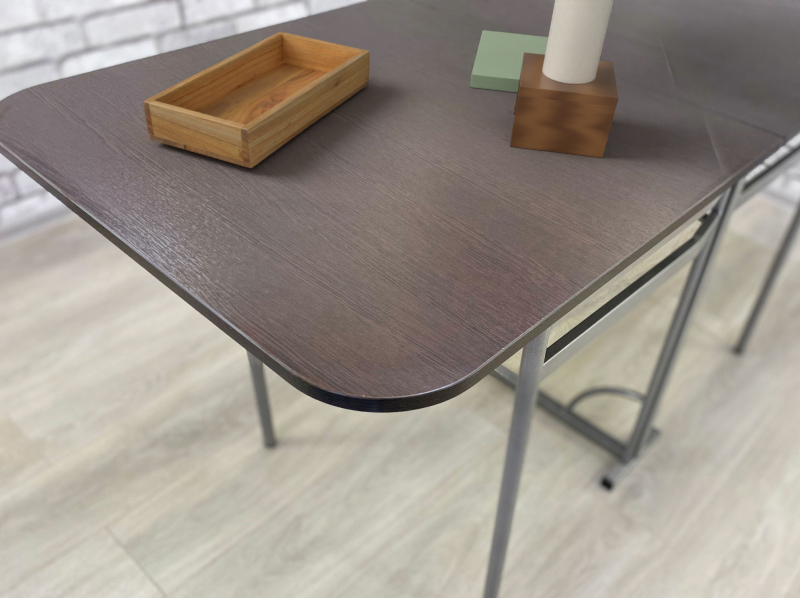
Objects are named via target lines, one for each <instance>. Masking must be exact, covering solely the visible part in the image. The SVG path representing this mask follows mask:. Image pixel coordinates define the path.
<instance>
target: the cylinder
mask: <svg viewBox="0 0 800 598" xmlns="http://www.w3.org/2000/svg"><path fill="white" fill-rule="evenodd" d="M614 1H615V0H554V4H553V10H552V15H551V20H550V27H549V31H548V36H547V37H548V42H547V47H546V53H545V58H544V64H543V69H542V72H543V74H544V75H545V76H547V77H548V78H550V79H552V80H555V81H558V82H562V83H569V84H584V83H589V82H591V81H593V80H594V79H595V77H596V73H597V69H598V64H599V61H601V55H602V51H603V47H604V44H605V39H606V36H607V35H606V34H607V30H608V26H609V21H610V18H611V14H612V9H613V5H614Z"/></svg>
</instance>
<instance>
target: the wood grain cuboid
mask: <svg viewBox="0 0 800 598" xmlns="http://www.w3.org/2000/svg"><path fill="white" fill-rule="evenodd" d="M544 58H545V55H543V54H534V53H525V52H524V55H523V61H522V67H521V73H520V79H519V85H518V91H517V93H516V97H515V104H514V111H513V115H514V118H513V124H512V130H511V134H510V135H511V136H510V143H509V147H510V148H511V147H512V148H519V149H527V150H534V151H535V150H537V151H545V152H551V153H561V154H569V155H578V156H587V157H594V158H604V154H605V151H606V147H607V144H608V140H609V136H610V132H611V127H612V124H613V120H614V117H615V112H616V109H617V105H618V101H619V91H618V85H617V77H616V70H615V63H614V61H606V60H599V64H598V69H597V73H596V77H595V79H594V80H593V81H591V82H589V83H584V84H569V83H562V82H558V81H555V80H552V79H550V78H548V77H547V76H545V75H544V74H543V72H542V69H543V64H544Z"/></svg>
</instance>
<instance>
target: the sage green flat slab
mask: <svg viewBox="0 0 800 598" xmlns="http://www.w3.org/2000/svg"><path fill="white" fill-rule="evenodd" d="M548 37H549V36H541V35H533V34H532V35H531V34H523V33H515V32H514V33H513V32H506V31H505V32H503V31H494V30H485V29H483V30H482V32H481V35H480V40H479V42H478V43H479V44H478V47H477V51H476V55H475V59H474V63H473V67H472V71H471V75H470V84H469V85H470V86H469V88H474V89H482V90H483V89H484V90H490V91H500V92H508V93H516V94H517V91H518V85H519V79H520V73H521V67H522V61H523V55H524V52H525V53H534V54H543V55H545V53H546V47H547V42H548Z"/></svg>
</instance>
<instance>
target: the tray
mask: <svg viewBox="0 0 800 598" xmlns="http://www.w3.org/2000/svg"><path fill="white" fill-rule="evenodd" d="M370 54H371V51H370V50H367V49H363V48H358V47H353V46H349V45H344V44H339V43H335V42H330V41H326V40H321V39H316V38H312V37H307V36H303V35H298V34H293V33H289V32H284V31H279V32H276V33H274V34H272V35H270V36H268V37H266V38H265V39H263V40H261V41H259V42H256V43H255V44H253V45H251V46H249V47H247V48H244V49H243V50H240V51H239V52H237V53H235V54H233V55H231V56H229V57H226V58H225V59H223V60H221V61H218V62H217V63H215V64H213V65H211V66H209V67H208V68H205V69H204V70H202V71H199V72H197V73H196V74H194V75H192V76H190V77H188V78H186V79H183V80H182V81H180V82H177V83H176V84H174V85H172V86H170V87H168V88H166V89H164V90H162V91H161V92H158V93H156V94H155V95H152V96H150V97H149V98H146V99H145V100H144V101H142V104H143V111H144V116H145V117H144V118H145V122H146V128H147V133H148V135H149V136H148V137H149V139H150V140H151V141H153V142H158V143H160V144H164V145H168V146H171V147H175V148H178V149H181V150H185V151H188V152H193V153H197V154H199V155H204V156H206V157H210V158H214V159H217V160H220V161H224V162H228V163H231V164H234V165H237V166H242V167H245V168H249V169H252V168H254V167H255V166H257V165H258V164H260V163H261V162H262V161H263V160H265V159H266V158H267V157H269V156H270V155H271V154H273V153H274V152H276V151H277V150H279V148H281V147H282V146H284V145H285V144H287V143H288V142H289V141H291V140H292V139H294V138H295V137H296V136H298V135H299V134H301V133H302V132H303V131H305V130H306V129H307V128H309V127H311V126H312V125H313V124H314V123H316V122H317V121H318V120H320V119H321V118H323V117H325V116H326V115H328V114H329V113H330V112H331V111H333V110H335V109H336V108H337V107H339V106H340V105H341V104H343V103H344V102H346V101H348V99H350V98H352V97H353V96H355V95H356V94H357V93H359V92H360V91H361V90H362V89H364V88H366V87H367V86H368V85H369V82H370V81H369V80H370V61H371V60H370V59H371V57H370V56H371V55H370Z"/></svg>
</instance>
